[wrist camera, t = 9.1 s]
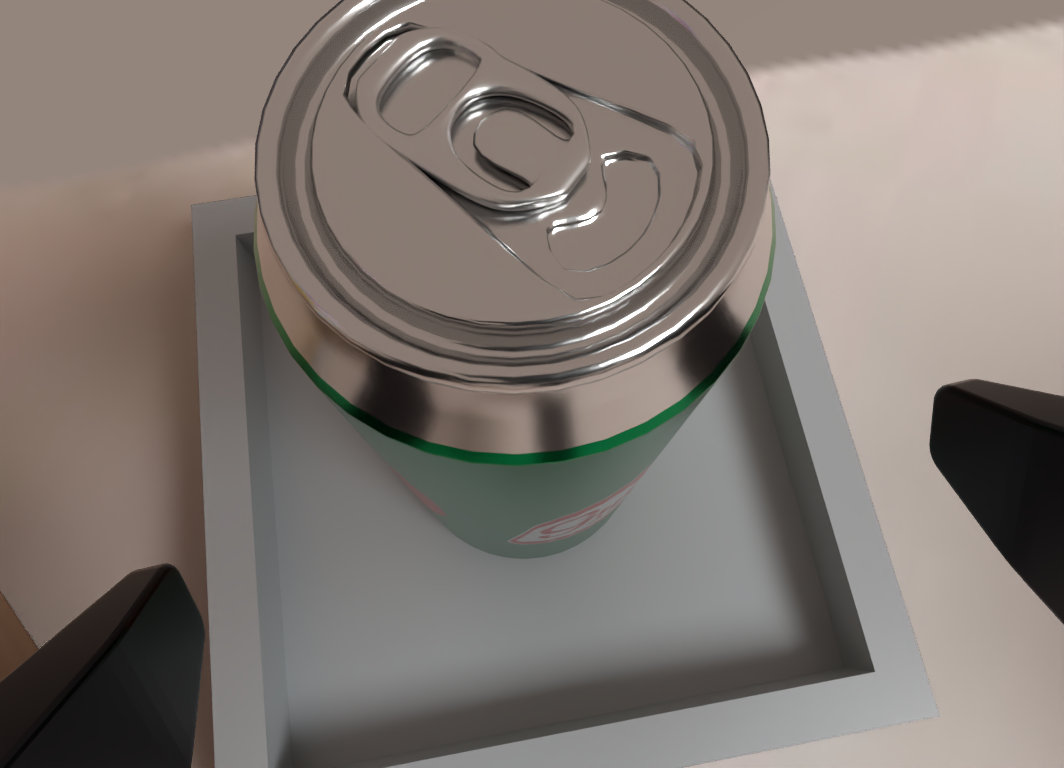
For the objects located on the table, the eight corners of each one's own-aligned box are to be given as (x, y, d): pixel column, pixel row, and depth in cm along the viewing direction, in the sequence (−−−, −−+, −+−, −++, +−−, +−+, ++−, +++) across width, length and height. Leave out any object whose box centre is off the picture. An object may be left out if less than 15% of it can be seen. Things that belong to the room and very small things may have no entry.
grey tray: (731, 167, 21) (751, 121, 19) (892, 705, 16) (940, 716, 14) (223, 244, 20) (191, 204, 18) (256, 830, 16) (218, 860, 14)
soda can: (550, 606, 16) (596, 577, 5) (373, 477, 17) (72, 201, 6) (671, 427, 18) (925, 79, 6) (500, 314, 19) (452, -171, 7)
